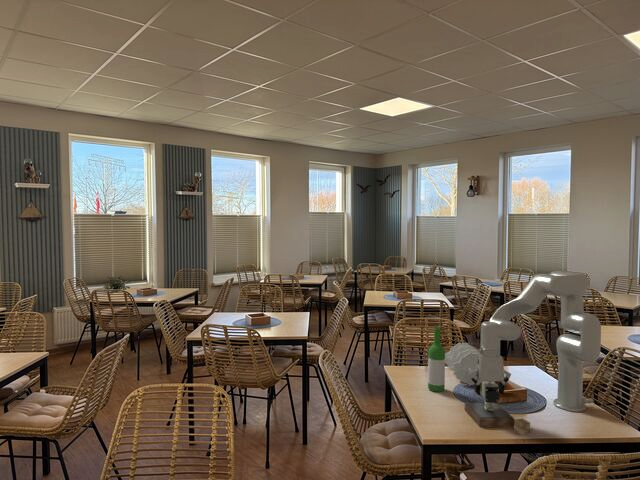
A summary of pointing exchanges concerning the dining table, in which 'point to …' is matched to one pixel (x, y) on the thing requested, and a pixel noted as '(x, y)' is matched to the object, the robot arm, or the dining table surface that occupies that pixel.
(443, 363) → the wine bottle
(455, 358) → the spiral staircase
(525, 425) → the oak block
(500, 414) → the stand
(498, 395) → the pneumatic valve
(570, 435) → the dining table surface
